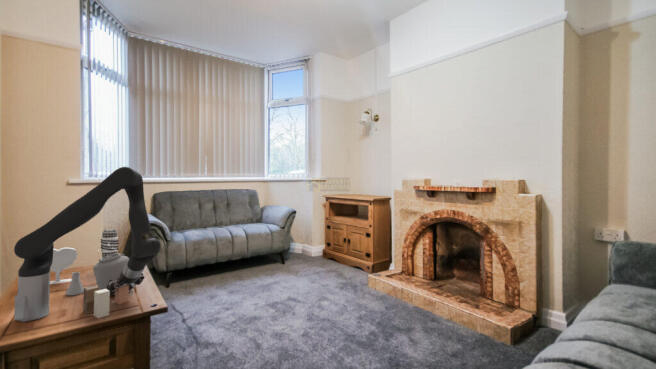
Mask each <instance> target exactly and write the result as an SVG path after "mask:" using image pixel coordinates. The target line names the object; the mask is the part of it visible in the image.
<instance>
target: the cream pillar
mask: <svg viewBox="0 0 656 369" xmlns="http://www.w3.org/2000/svg"><path fill="white" fill-rule="evenodd" d="M110 296H111V295H110V291H109V290H107V289H102V290H98V291H94V312H93V316H94V318H96V319H100V318H103V317H107V316H109V315H110V300H111V299H110Z"/></svg>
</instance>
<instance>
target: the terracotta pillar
mask: <svg viewBox="0 0 656 369" xmlns="http://www.w3.org/2000/svg"><path fill="white" fill-rule="evenodd" d="M119 286H120V285H119ZM115 288H116V286H115ZM129 294H130V291H129V285H125V286H123V287H121V288H120V289H117V290H116V291H115V294H114V303H115V304H117V305H121V304H125V303H128V302H129Z"/></svg>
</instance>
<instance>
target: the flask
mask: <svg viewBox="0 0 656 369" xmlns="http://www.w3.org/2000/svg"><path fill="white" fill-rule="evenodd" d="M70 274H71V279H72V280H71V281H70V283H69V285H68V286H67V290H66V291H65V293H64V294H65V295H66V296H78V295H82V294H84V288H85V287H84V286H83V283H82V281H81V278H80V275H81V272H80V271H75V272H72V273H70Z"/></svg>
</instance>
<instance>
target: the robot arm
mask: <svg viewBox="0 0 656 369" xmlns="http://www.w3.org/2000/svg"><path fill="white" fill-rule="evenodd" d="M143 180H144V179H143V177H142V174H141V173H139V172H138V171H137V170H135V169H133V168H131V167H129V166H122V167H118V168H117V169H115V170H114V171H113V172H111V173H110V174H109V175H108V176H107V177H105V178H104V180H103V181H101V182H100V183H99V184H97V185H96V186H94V187H93V188H92V189H91V190H89V191H88V192H86V193H85V194H84V195H82V196H81V197H80V198H78V199H76V200H74V201H73V202H72V203H71V204H69V205H68V206H66V207H65V208H63V209H62V210H61V211H60V212H58V213H57V214H56V215H55V216H53V217H52V218H51V219H49V220H48V221H47V222H46V223H44V224H43V225H42V226H40V227H38V228H37V229H35V230H33V231H32V232H29V233H28V234H26V235H24V236H22V237H21V238H20V239H19V240H17V242H16V243H15V245H14V248H13V252H14V254H15V256H16V257H18V258H19V259H22V260H23V262H22V264H21V266H20V267H19V269H18V271H17V272H18V273H17V274H18V276H17V294H16V295H15V296H14V321H18V322H21V323H26V322H29V321H35V320H39V319H43V318H44V317H47V316H48V315H49V314H50V288H51V286H50V285H51V284H50V282H51V280H50V278H51V271H50V267H51V265H52V261H53V249H55V248H54V246H55V245H54V243H55V242H56V241H57V240H58V239H60V238H62V237H63V236H65V235H68V234H69V233H70V232H73V231H75V230H76V229H78V228H80V227H81V226H83V225H85V224H86V223H88V222H89V221H90V220H92V219H94V218H95V217H96V216H97V215H98V214H100V212H101V211H102V210H103V208H104V207H105V205H106V203H107V202H108V200H109V199H110V198H111V197H113V196H114V195H115V194H117V193H118V192H120V191H122V190H124V191H125V194H126V195H127V199H128V203H129V204H128V205H129V206H128V221H129V222H128V223H129V226H130V229H131V230H130V231H131V246H130V248H131V249H130V251H131V254H132V255H131V256H130V257H129V261H128V262H127V263H126V265H125V266H124V268H123V270H122V272H121V273H120V276H119V278H118V279H117V280H115V281H113V280H110V281H109V282H108V285H107V290H109V291H110V296H111V297H112V296H114V295H115V294H114V293H115V291H116V290H117V289H120V288H121V287H123V286H125V285H129V292H130V291H131V292H132V290H133V289H134V288H135V287H136V285H137V286H139V285H141V284H142V283H143V281H144V280H145V275H144V273H143V272H144V271H145V267H146V266H147V264H148V263H149V262H150V261H152V260H153V259H154V258H155V257H156V256H158V254H159V253H160V250H161V248H162V247H161V241H160V240H159V239H157V238H146V239H142V238H143V236H145V235H147V234H150V232H152V228H151V223H150V218H149V215H148V213H147V212H148V211H147V208H146V207H147V206H146V200H145V194H144V181H143ZM119 285H120V286H119ZM115 286H116V288H115Z"/></svg>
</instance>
